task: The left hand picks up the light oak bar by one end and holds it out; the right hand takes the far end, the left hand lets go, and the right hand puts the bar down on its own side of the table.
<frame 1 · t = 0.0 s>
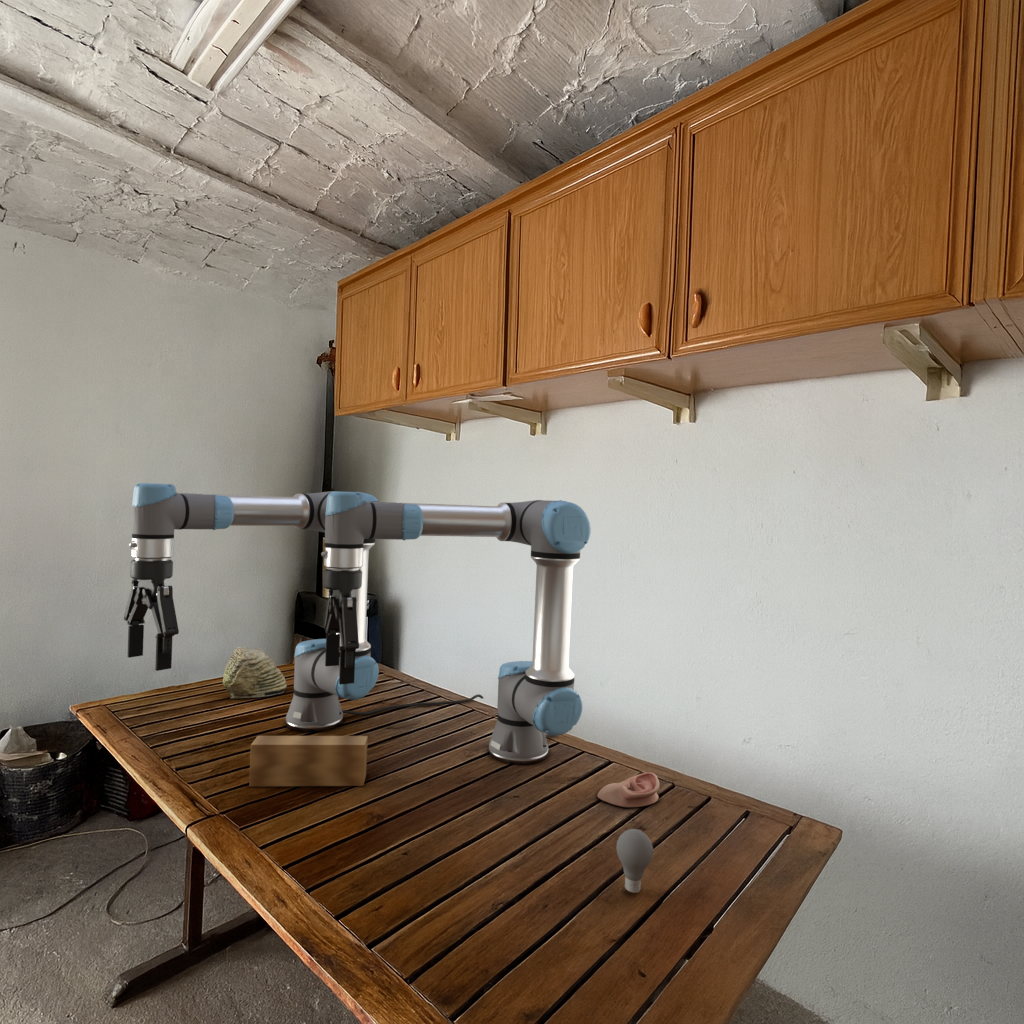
left hand: (148, 662, 129), 28 cm above the table, tool pointing down, fingers open, 13 cm apart
right hand: (338, 674, 127), 28 cm above the table, tool pointing down, fingers open, 13 cm apart
bar: (309, 781, 141), on the table
fossil: (254, 694, 198), on the table
anatomical model: (628, 796, 140), on the table
light bulb: (632, 891, 106), on the table
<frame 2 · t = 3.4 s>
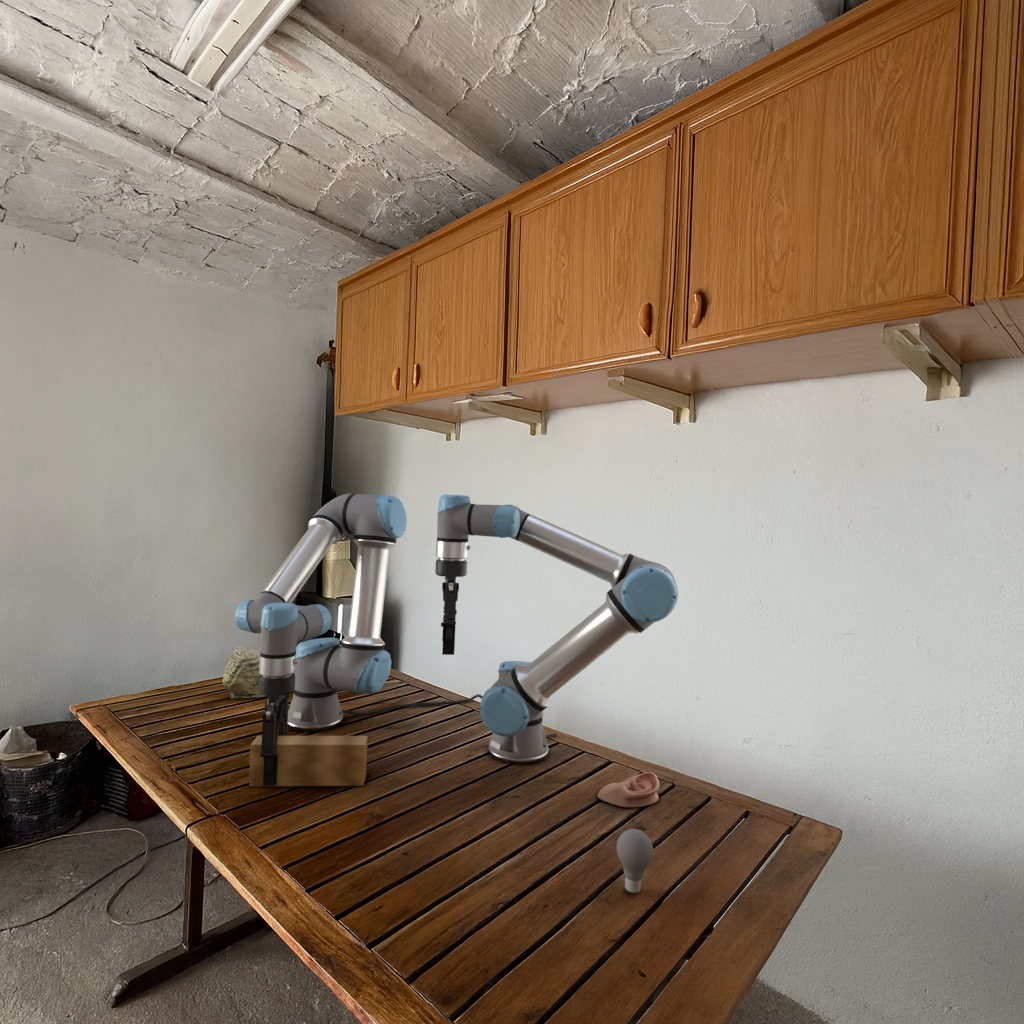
left hand: (273, 778, 140), 1 cm above the table, tool pointing down, fingers closed on bar, 5 cm apart
right hand: (447, 647, 152), 28 cm above the table, tool pointing down, fingers open, 13 cm apart
bar: (309, 780, 141), on the table, touching left hand
everything else where it was.
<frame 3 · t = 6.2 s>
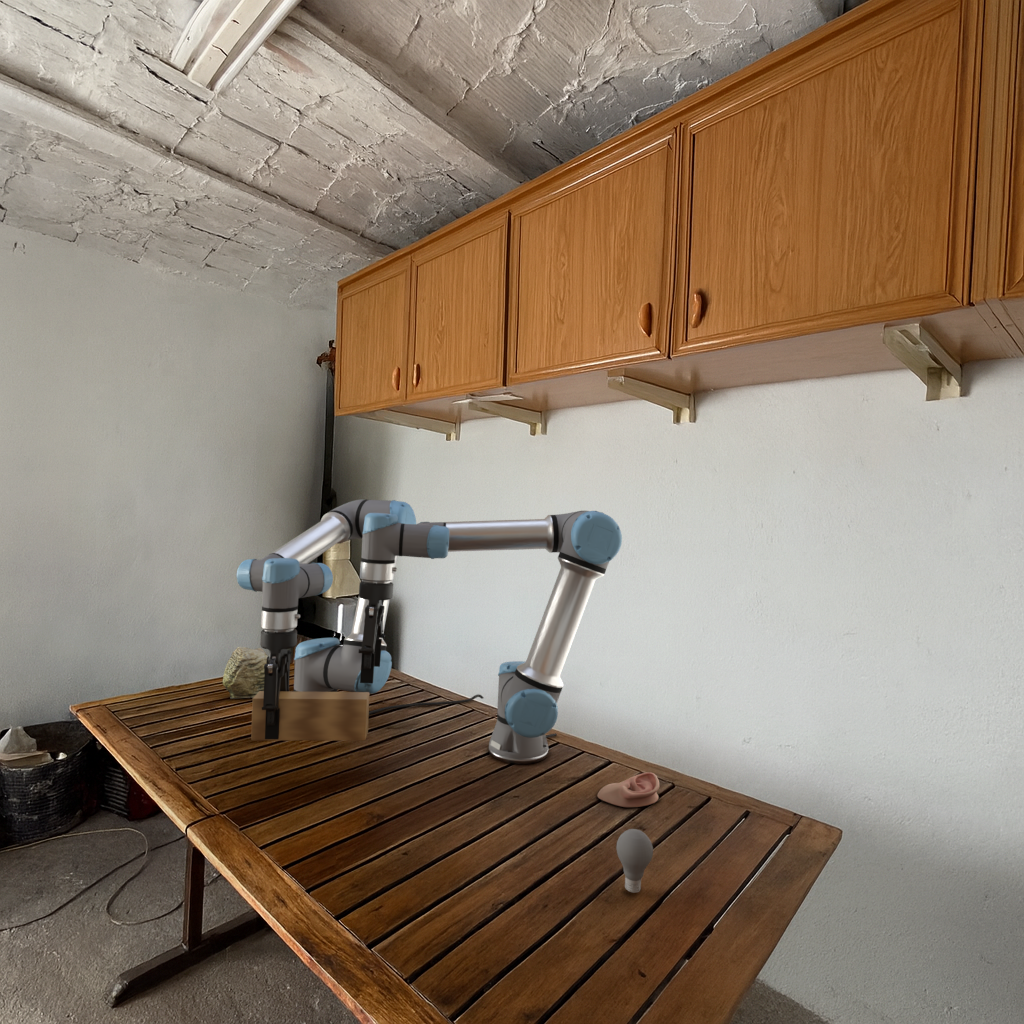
left hand: (275, 733, 140), 11 cm above the table, tool pointing down, fingers closed on bar, 5 cm apart
right hand: (370, 674, 144), 23 cm above the table, tool pointing down, fingers open, 13 cm apart
bar: (311, 736, 141), point 10 cm above the table, touching left hand
everything else where it was.
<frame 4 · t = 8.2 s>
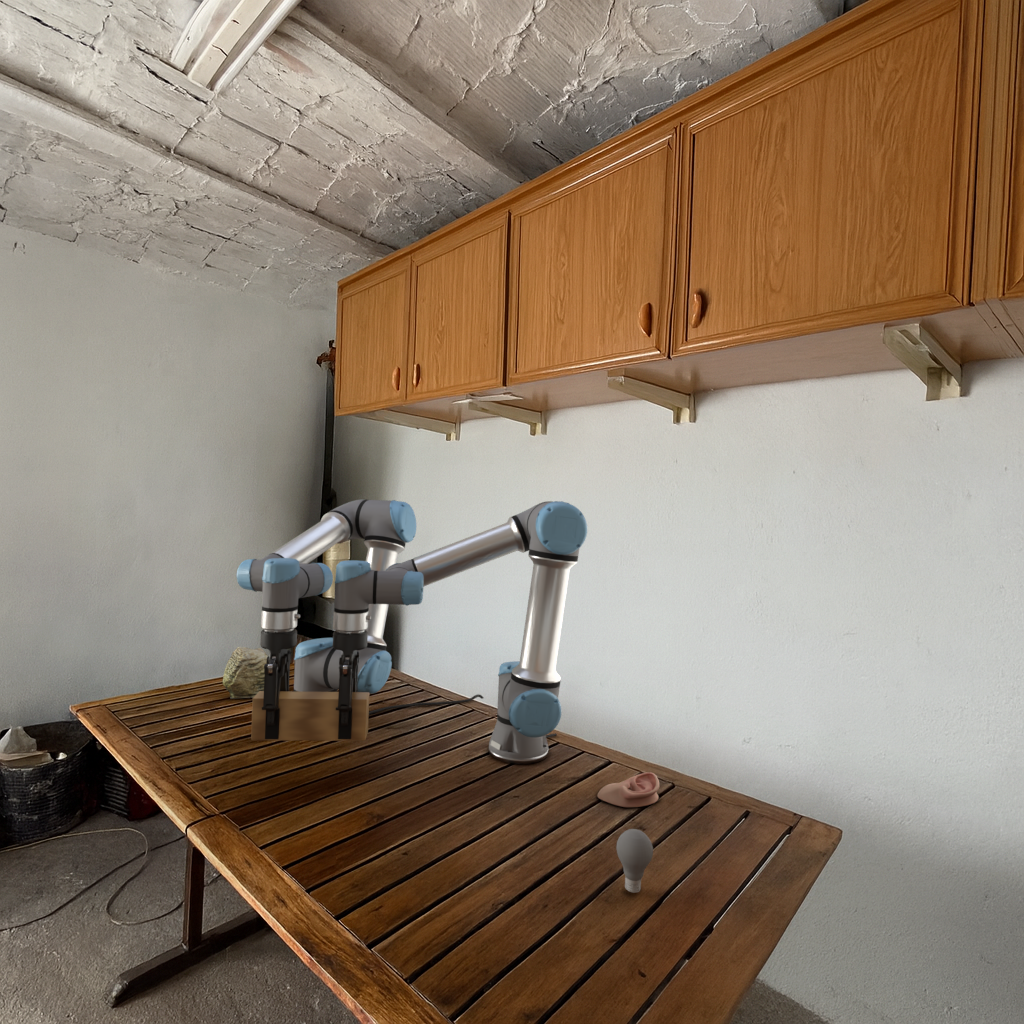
left hand: (275, 733, 140), 11 cm above the table, tool pointing down, fingers closed on bar, 5 cm apart
right hand: (346, 733, 142), 11 cm above the table, tool pointing down, fingers closed on bar, 5 cm apart
bar: (311, 736, 141), point 10 cm above the table, touching left hand, right hand
everything else where it was.
when the left hand's fingers open (11 cm above the table, at t = 9.0 s): bar stays where it is, held by the right hand.
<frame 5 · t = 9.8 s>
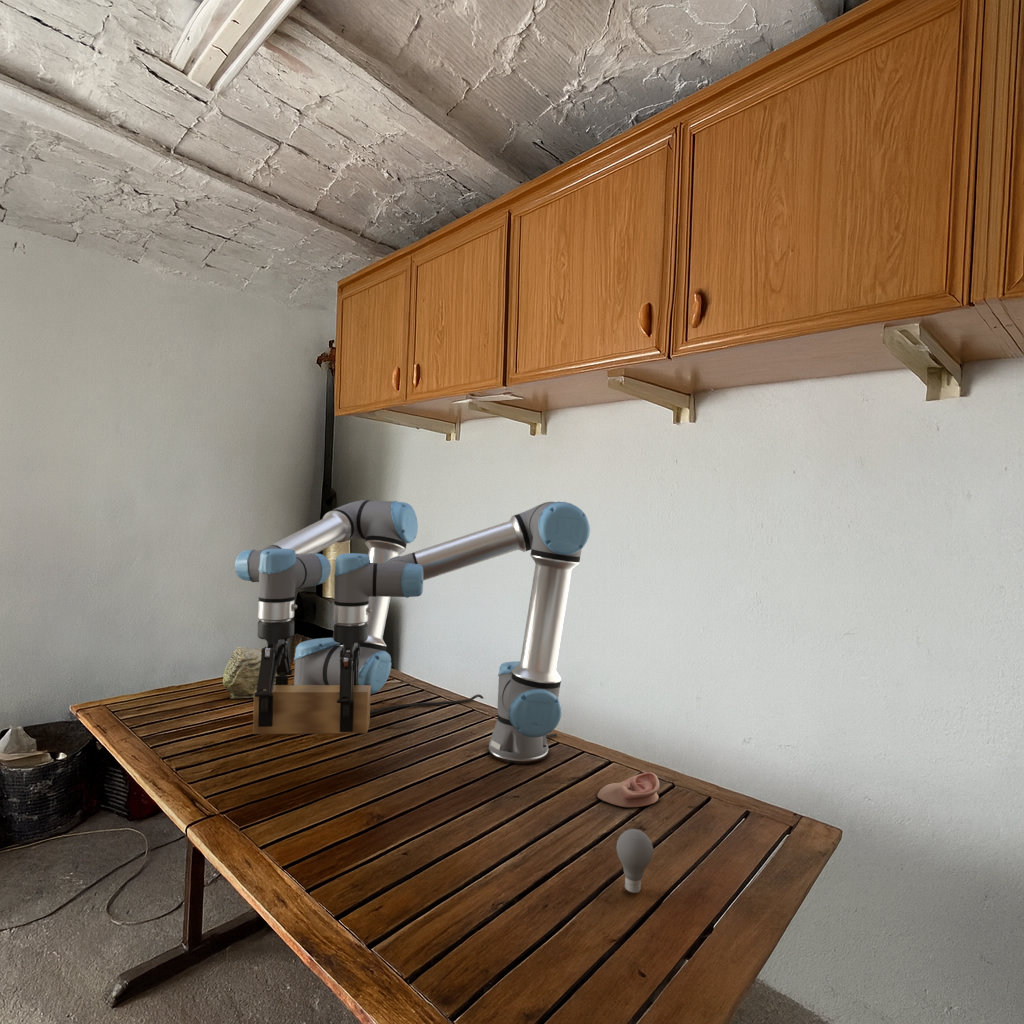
left hand: (273, 714, 140), 15 cm above the table, tool pointing down, fingers open, 13 cm apart
right hand: (348, 726, 142), 12 cm above the table, tool pointing down, fingers closed on bar, 5 cm apart
bar: (312, 729, 141), point 12 cm above the table, touching right hand
everything else where it was.
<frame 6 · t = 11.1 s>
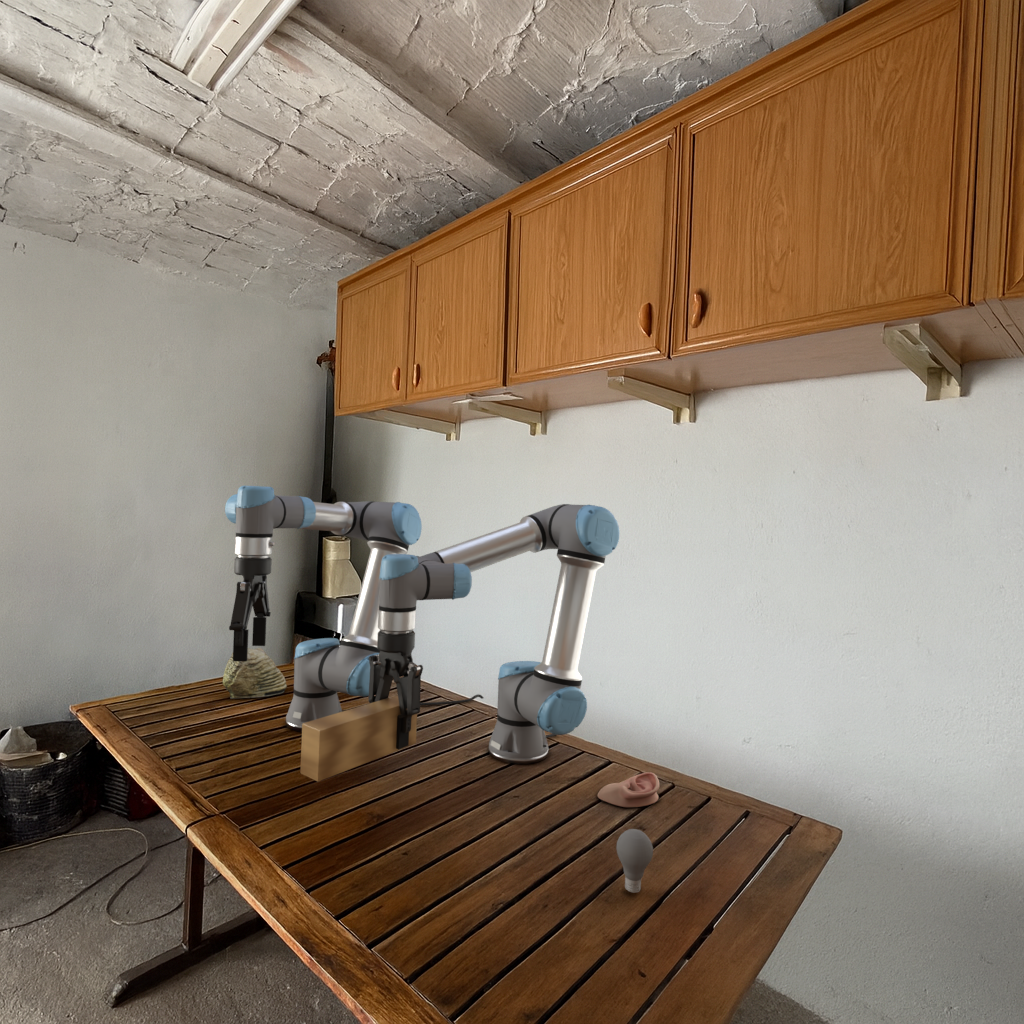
left hand: (249, 653, 139), 28 cm above the table, tool pointing down, fingers open, 13 cm apart
right hand: (392, 742, 130), 14 cm above the table, tool pointing down, fingers closed on bar, 5 cm apart
bar: (361, 757, 123), point 13 cm above the table, touching right hand
everything else where it was.
when the right hand's fingers open (2 cm above the table, at t = 14.3 s): bar drops 1 cm, on the table.
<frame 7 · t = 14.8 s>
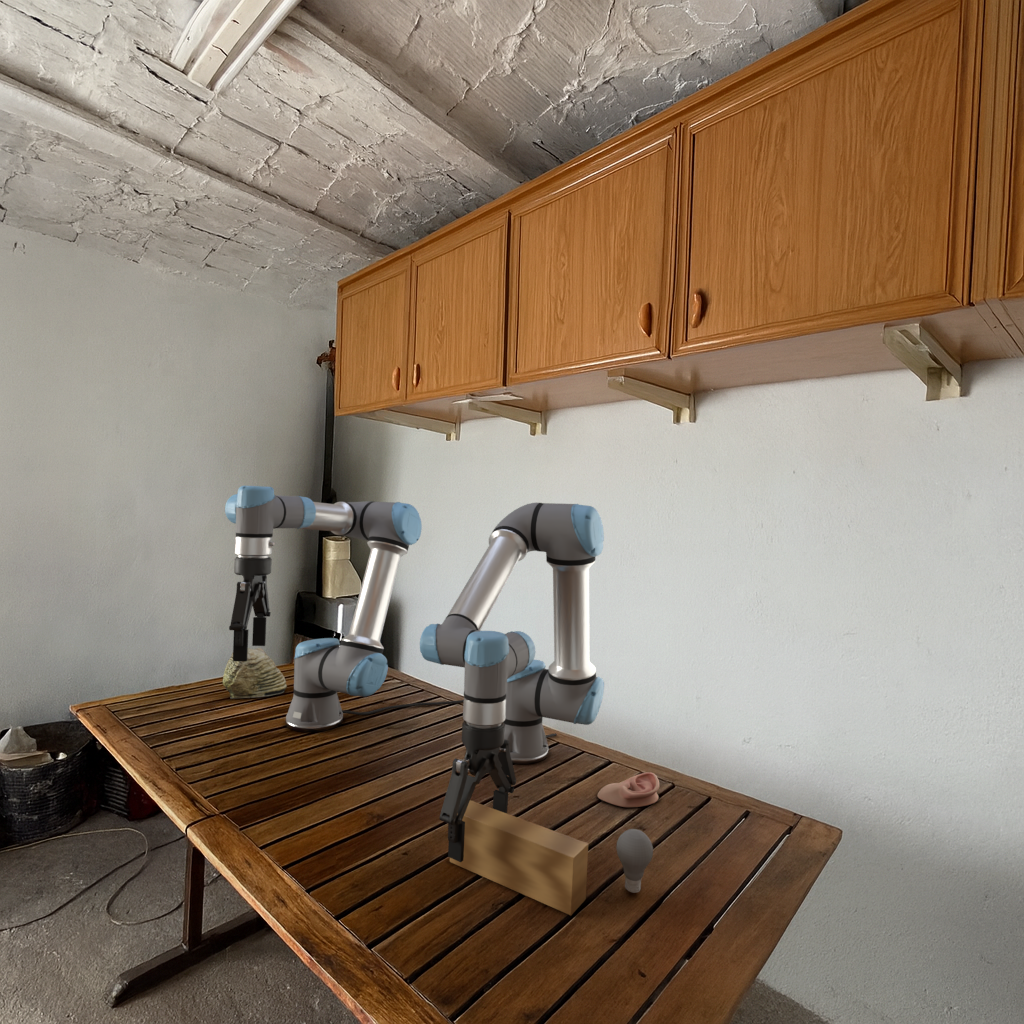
left hand: (249, 653, 139), 28 cm above the table, tool pointing down, fingers open, 13 cm apart
right hand: (478, 842, 112), 4 cm above the table, tool pointing down, fingers open, 12 cm apart
bar: (514, 879, 107), on the table
everything else where it was.
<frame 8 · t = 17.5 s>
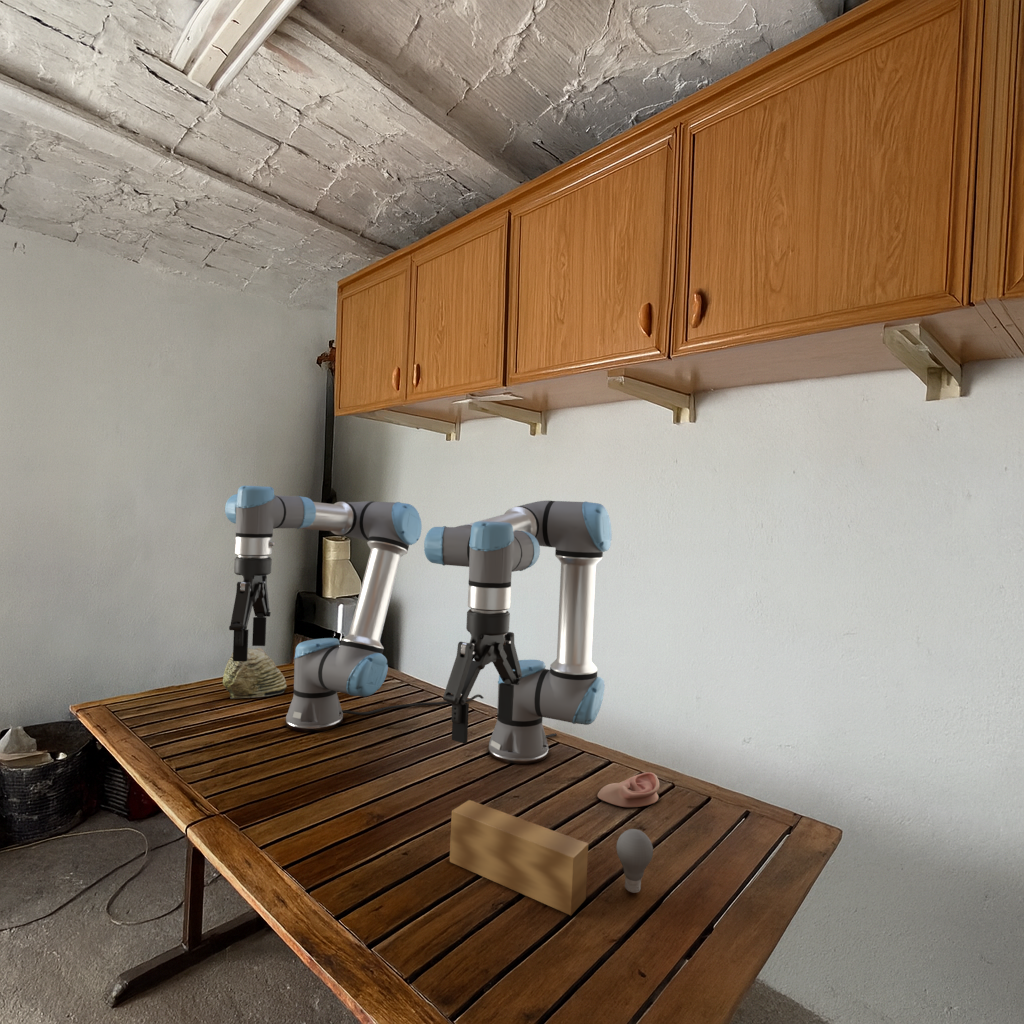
left hand: (249, 653, 139), 28 cm above the table, tool pointing down, fingers open, 13 cm apart
right hand: (483, 730, 111), 24 cm above the table, tool pointing down, fingers open, 13 cm apart
nothing on the table moved.
at the end: bar inside the target area (7.8 cm from its centre), on the table; the left hand is holding nothing; the right hand is holding nothing; bar at rest at the end (0.0 cm/s) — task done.
